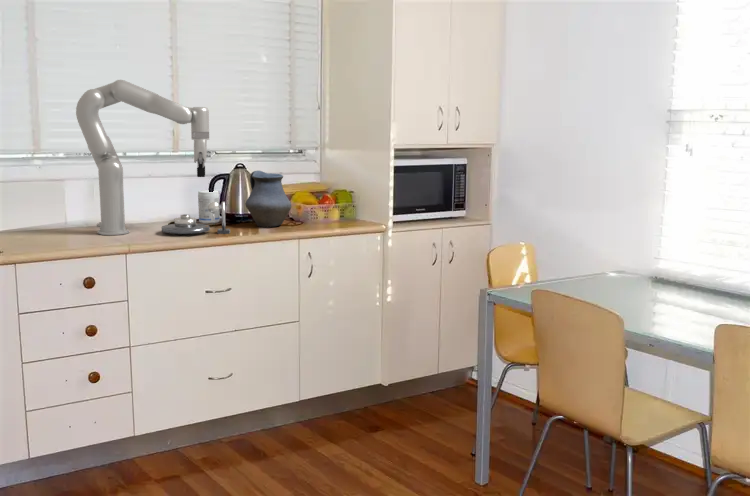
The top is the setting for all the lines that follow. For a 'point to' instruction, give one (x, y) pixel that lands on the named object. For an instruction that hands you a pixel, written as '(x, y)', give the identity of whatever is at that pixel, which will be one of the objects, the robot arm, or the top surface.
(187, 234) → the turntable base
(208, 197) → the supplement tub
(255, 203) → the pitcher
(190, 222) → the cast cover
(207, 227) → the turntable
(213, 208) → the dial indicator
